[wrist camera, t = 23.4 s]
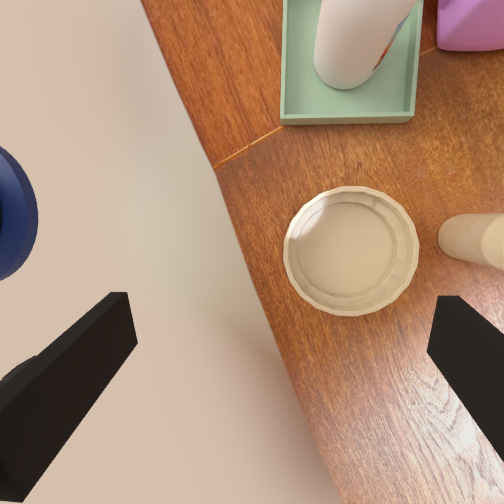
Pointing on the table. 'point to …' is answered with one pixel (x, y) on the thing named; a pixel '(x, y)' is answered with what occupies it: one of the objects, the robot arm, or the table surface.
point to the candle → (474, 238)
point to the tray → (345, 100)
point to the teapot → (470, 25)
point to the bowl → (351, 251)
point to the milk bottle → (356, 38)
